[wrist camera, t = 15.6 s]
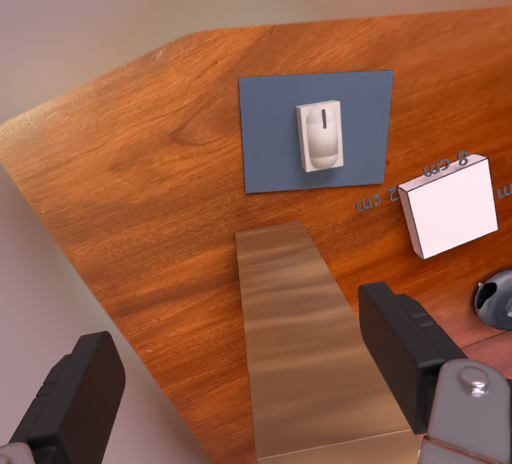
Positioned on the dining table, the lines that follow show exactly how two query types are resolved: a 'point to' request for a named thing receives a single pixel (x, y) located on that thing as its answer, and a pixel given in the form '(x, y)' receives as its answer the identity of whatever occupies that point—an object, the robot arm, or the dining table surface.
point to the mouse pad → (286, 129)
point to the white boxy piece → (320, 135)
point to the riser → (311, 360)
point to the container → (448, 205)
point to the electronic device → (496, 301)
